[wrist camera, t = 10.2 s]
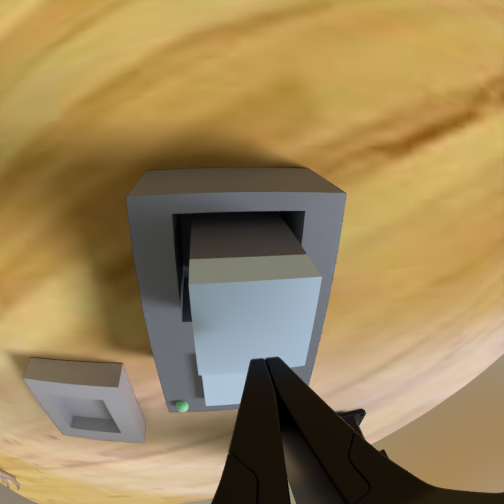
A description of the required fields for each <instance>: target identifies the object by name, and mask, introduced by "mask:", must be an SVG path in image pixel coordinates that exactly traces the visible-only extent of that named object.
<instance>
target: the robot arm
mask: <svg viewBox="0 0 504 504" xmlns="http://www.w3.org/2000/svg"><path fill="white" fill-rule="evenodd" d="M365 414H366V412H365V410H360V411H356V412H352V413H348V414H344V415H338V414H337V413H336V412H335V411H334V410H333V409H332V408H330V407H329V406H328V405H327V404H326V403H325V402H324V401H323V400H322V399H321V398H320V397H319V396H318V395H317V394H316V393H315V392H314V391H313V390H312V389H311V388H310V387H309V386H308V385H307V384H306V383H305V382H304V381H303V380H302V379H301V378H300V377H299V376H298V375H297V374H296V373H295V372H294V371H293V370H292V369H291V368H290V367H289V366H288V365H287V364H286V363H285V362H284V361H283V360H282V359H281V358H280V357H278V356H276V357H267V358H265V359H264V358H256V359H251V360H250V363H249V367H248V372H247V376H246V380H245V385H244V389H243V393H242V397H241V402H240V406H239V410H238V414H237V419H236V423H235V427H234V431H233V435H232V439H231V443H230V447H229V451H228V453H229V454H228V455H227V459H226V463H225V467H224V470H223V473H222V477H221V480H220V483H219V485H218V488H217V490H216V493H215V495H214V498H213V500H212V502H211V504H291V502H290V495H289V487H288V481H289V484H290V487H291V490H292V493H293V495H294V499H295V502H296V504H504V492H502V493H484V492H471V491H461V490H452V489H445V488H439V487H436V486H433V485H430V484H428V483H426V482H424V481H422V480H420V479H419V478H417V477H416V476H414V475H413V474H411V473H409V472H408V471H407V470H405V469H403V468H402V467H400V466H399V465H397V464H396V463H394V462H393V461H391V460H390V459H389V458H388V456H387V454H386V452H385V451H384V449H383V450H381V451H378V450H376V449H375V448H374V447H373V446H372V445H371V444H369V443H368V442H367V441H366V440H365V438H364V436H363V434H362V431H361V429H360V427H359V425H360V423H361V422H362V420H363V418H364V416H365ZM287 478H288V479H287Z"/></svg>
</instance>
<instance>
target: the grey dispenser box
mask: <svg viewBox="0 0 504 504" xmlns="http://www.w3.org/2000/svg"><path fill="white" fill-rule="evenodd" d="M346 194H347V193H345V192H344V191H342V190H341V189H340V188H338V187H337V186H335V185H334V184H332V183H331V182H329V181H327V180H326V179H324V178H323V177H321V176H320V175H318V174H317V173H315V172H314V171H312V170H310V169H308V168H273V167H221V168H186V169H165V170H148V171H146V172H145V173H144V175H143V176H142V177H141V178H140V180H139V181H138V182H137V183H136V185H135V186H134V187H133V189H132V190H131V191H130V192H129V194H128V195H127V196H126V203H127V212H128V221H129V229H130V236H131V244H132V250H133V257H134V263H135V270H136V276H137V281H138V287H139V292H140V298H141V303H142V308H143V313H144V317H145V322H146V327H147V331H148V336H149V340H150V344H151V348H152V353H153V357H154V361H155V364H156V368H157V372H158V376H159V379H160V383H161V387H162V390H163V394H164V397H165V401H166V404H167V407H168V410H169V412H201V411H219V410H233V409H239V406H240V402H241V397H242V393H243V389H244V385H245V380H246V376H247V372H244V373H232V374H217V375H198V367H197V359H196V351H195V343H194V334H193V325H192V315H191V305H190V295H189V261H190V241H191V225H192V213H209V212H246V211H278V212H279V214H280V215H281V217H282V218H283V219H284V221H285V222H286V224H287V225H288V227H289V228H290V230H291V231H292V233H293V234H294V235H295V237H296V238H297V240H298V241H299V243H300V244H301V246H302V247H303V249H304V250H305V252H306V253H307V255H308V256H309V258H310V259H311V261H312V262H313V264H314V265H315V267H316V268H317V270H318V271H319V273H320V274H321V276H322V281H321V286H320V292H319V298H318V303H317V308H316V314H315V319H314V324H313V329H312V334H311V339H310V344H309V349H308V353H307V358H306V362H305V366H298V367H291V369H292V370H293V371H294V372H295V373H296V374H297V375H298V376H299V377H300V378H301V379H302V380H303V381H304V382H305V383H306V384H307V385H308V386H309V382H310V378H311V374H312V370H313V366H314V362H315V358H316V354H317V350H318V346H319V342H320V337H321V333H322V329H323V324H324V320H325V315H326V310H327V306H328V301H329V296H330V291H331V286H332V281H333V275H334V270H335V264H336V259H337V253H338V247H339V241H340V235H341V229H342V222H343V215H344V209H345V201H346Z"/></svg>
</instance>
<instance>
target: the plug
mask: <svg viewBox="0 0 504 504" xmlns="http://www.w3.org/2000/svg"><path fill="white" fill-rule="evenodd" d="M321 281H322V276H321V274H320V273H319V271H318V270H317V268H316V267H315V265H314V264H313V262H312V261H311V259H310V258H309V256H308V255H307V253H306V252H305V250H304V249H303V247H302V246H301V244H300V243H299V241H298V240H297V238H296V237H295V235H294V234H293V233H292V231H291V230H290V228H289V227H288V225H287V224H286V222H285V221H284V219H283V218H282V217H281V215H280V214H279V212H278V211H246V212H209V213H192V225H191V241H190V261H189V295H190V305H191V315H192V325H193V334H194V343H195V351H196V359H197V367H198V375H217V374H232V373H244V372H248V367H249V363H250V360H251V359H256V358H264V359H265V358H267V357H276V356H278V357H280V358H281V359H282V360H283V361H284V362H285V363H286V364H287V365H288V366H289V367H290V368H291V367H298V366H305V362H306V358H307V353H308V349H309V344H310V339H311V334H312V329H313V324H314V319H315V314H316V308H317V303H318V298H319V292H320V286H321Z"/></svg>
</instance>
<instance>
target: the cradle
mask: <svg viewBox="0 0 504 504" xmlns="http://www.w3.org/2000/svg"><path fill="white" fill-rule="evenodd" d="M23 380H24V381H25V383H26V385H27V386H28V388H29V389H30V391H31V392H32V394H33V395H34V397H35V398H36V400H37V401H38V403H39V404H40V405H41V407H42V408H43V410H44V411H45V412H46V414H47V415H48V416H49V418H50V419H51V420H52V422H53V423H54V424H55V426H56V427H57V428H58V430H59V431H60V432H61V433H62V435H68V436H74V437H81V438H89V439H97V440H107V441H118V442H133V443H145V431H146V421H145V419H144V417H143V414H142V412H141V410H140V407H139V405H138V402H137V400H136V397H135V395H134V392H133V390H132V387H131V384H130V382H129V379H128V376H127V374H126V371H125V368H124V365H123V363H95V362H77V361H63V360H52V359H41V358H32V357H31V359H30V362H29V364H28V366H27V368H26V371H25V373H24V375H23Z"/></svg>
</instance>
